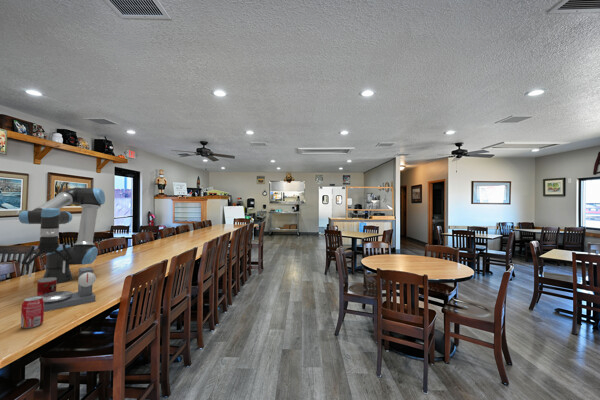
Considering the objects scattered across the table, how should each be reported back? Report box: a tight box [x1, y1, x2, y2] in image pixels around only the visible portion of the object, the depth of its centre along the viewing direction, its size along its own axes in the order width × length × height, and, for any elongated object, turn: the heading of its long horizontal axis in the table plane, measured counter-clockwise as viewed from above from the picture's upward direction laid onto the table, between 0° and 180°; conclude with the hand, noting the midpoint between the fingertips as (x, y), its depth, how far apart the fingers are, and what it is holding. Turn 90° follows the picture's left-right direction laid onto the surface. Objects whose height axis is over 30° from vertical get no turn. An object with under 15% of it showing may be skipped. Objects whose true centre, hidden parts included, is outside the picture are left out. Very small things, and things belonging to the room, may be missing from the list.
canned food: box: [36, 277, 58, 296], centre depth 146 cm, size 8×8×11 cm
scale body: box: [44, 266, 97, 313], centre depth 141 cm, size 14×24×17 cm, turn 138°
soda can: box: [20, 295, 45, 329], centre depth 116 cm, size 7×7×12 cm
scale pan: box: [40, 290, 73, 302], centre depth 138 cm, size 14×14×2 cm
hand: (47, 274), depth 146 cm, fingers open, 13 cm apart
